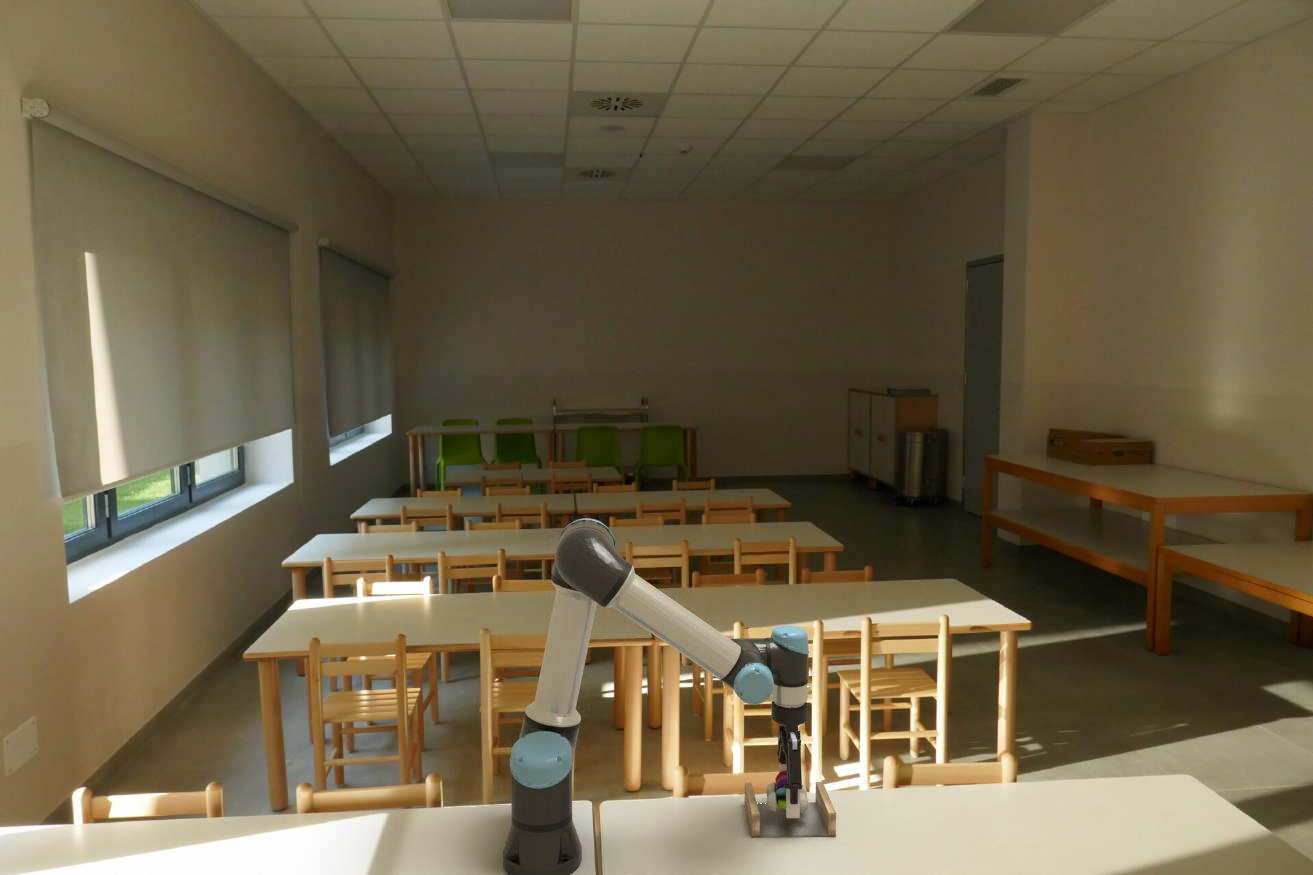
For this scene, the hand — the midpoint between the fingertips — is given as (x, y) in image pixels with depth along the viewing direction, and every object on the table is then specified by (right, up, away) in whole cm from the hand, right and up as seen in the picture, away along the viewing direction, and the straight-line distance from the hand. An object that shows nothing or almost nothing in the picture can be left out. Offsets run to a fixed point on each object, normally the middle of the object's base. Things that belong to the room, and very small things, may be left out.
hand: (788, 805), depth 196 cm
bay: (0, -3, 0) cm, 3 cm away
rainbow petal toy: (0, -1, 0) cm, 1 cm away
